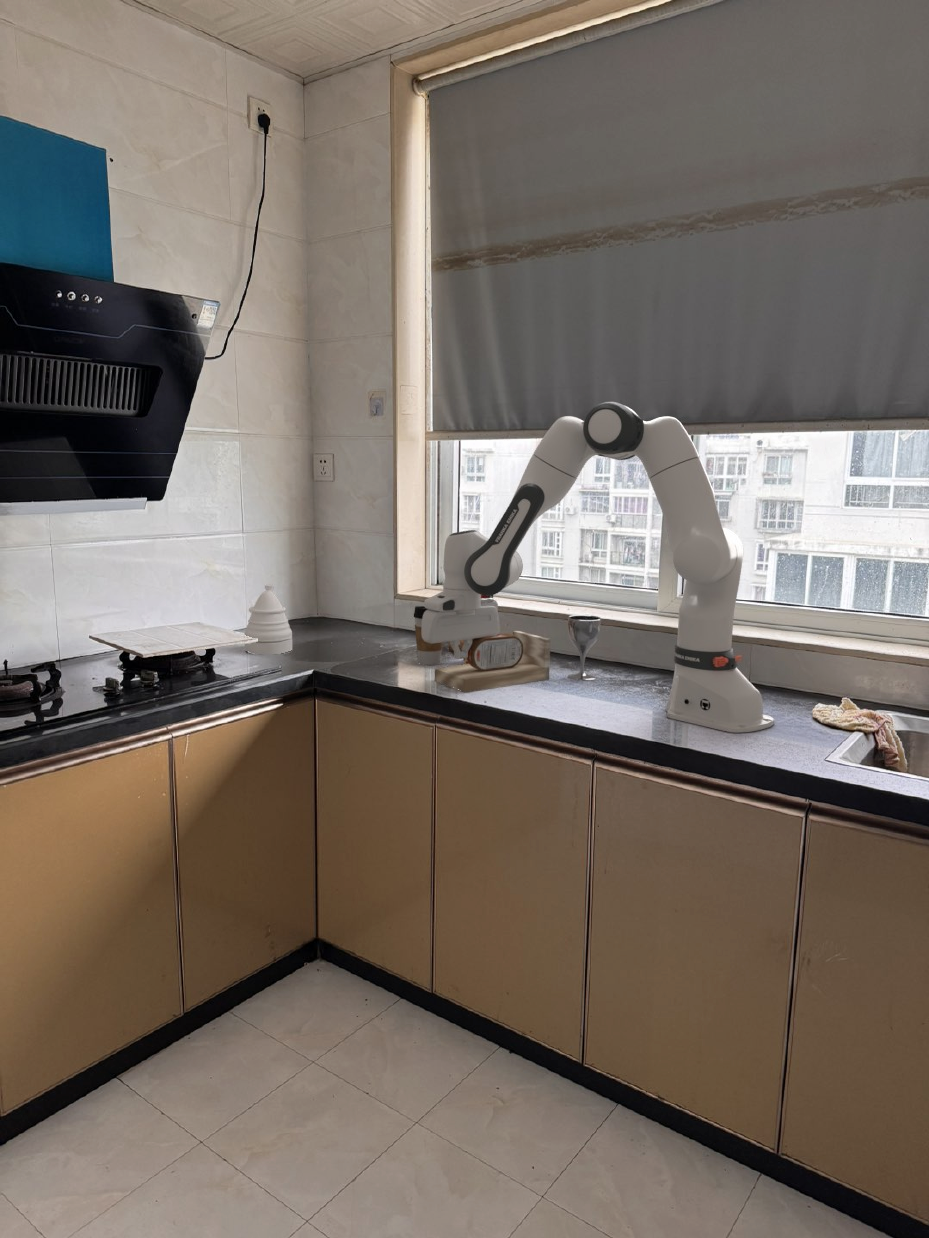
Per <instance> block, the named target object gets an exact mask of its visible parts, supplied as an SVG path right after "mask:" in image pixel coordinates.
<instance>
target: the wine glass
mask: <svg viewBox="0 0 929 1238" xmlns="http://www.w3.org/2000/svg"><path fill="white" fill-rule="evenodd" d="M601 619H602V618H601V616H597V615H590V614H573V615H568V617H567V630H568V631H567V632H568V637H569V640H570V642H571V643H572V644H573V645H574V647H575V648H576V649H577V651H578V653H579V658H580V671H579V672H578V673H571V674H568V675H567V678H568V679H570V680H574V681H585V682H586V681H594V680H596V679H597V676H595V675H593V674H589V673H586V672H585V660H586V655H587V653H588V651H589V650H590V649H591V648H592V647H593V646H594V645H595V643H596V642H597V641H598V638H599V634H600V630H601V621H602V620H601Z"/></svg>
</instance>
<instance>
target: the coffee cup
mask: <svg viewBox="0 0 929 1238" xmlns="http://www.w3.org/2000/svg"><path fill="white" fill-rule="evenodd" d="M426 610H428V609H427V608H425V607H424V605H419V606H418V605H417V606H414V611H413V618H414V620H415V621H414V622H415V624H414V630H415V631H414V632H415V642H416V650H417V652H416V654H417V662H418V664H419V663H420V664H419V665H422V664H425V665H424V666H434V665H435V664H437V665H440V664H441V659H442V649H443V642H441V643H433V644H431V643H427V642H425V641H424V640H423V639H422V636H421V629H422V618H423V614H424V612H425V611H426ZM439 663H440V664H439ZM435 666H436V665H435Z"/></svg>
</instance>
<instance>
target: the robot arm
mask: <svg viewBox="0 0 929 1238" xmlns="http://www.w3.org/2000/svg"><path fill="white" fill-rule="evenodd" d="M699 454H700V453H698V450H697V448H696V446H695V444H694V442H693V440H692V438H691V436H690V435H689V433H688V431H687V430H686V429H685V427H684V425H683V424H682V422H681V421H680V420H678V419H677V418H676V417H673V416H660V417H656V418H654V419H652V420H648V421H645V420H644V419H643V418H642V417H640V415H639V414H637V413H636V412H635V411H634V410H633V409H632V408H630V407H629V406H626V405H624V404H621V403H619V402H615V401H605V402H602V403H599V404H597V405H595V406H593V408H591V409H590V411H589V412H588V413H587V414H586V416H585V419H584V420H582V419H581V418H579V417H576V416H571V415H567V416H566V415H565V416H562V417H559V418H557V419H556V420H555V421H554V422H553V424H552V425H551V426H550V427H549V429H548V430H547V432H546V433H545V434H544V436H543V437H542V439H541V440H540V442H539V443H538V445H537V447H536V448H535V450H534V452H533V453H532V456H531V458H530V459H529V461H528V463H527V465H526V467H525V470H524V472H523V474H522V476H521V479H520V480H519V484H518V486H517V488H516V490H515V492H514V495H513V496H512V499H511V501H510V502H509V505H508V506H507V508H506V509H505V512H503V515H502V517H501V518H500V519H499V522H498V523H497V525H496V527H495V528H494V530H493V532H492V533H491V535H490V536H489V538H487V537H486V536H484V535H483V534H482V533H481V531H478V530H476V529H470V530H463V531H458V532H453V533H451V534H449V535H448V536H447V537H446V540H445V544H444V549H443V567H442V568H443V571H444V582H443V586H442V591H440V592H439V593H437V594H434V595H433V596H429V598H428V597H427V598H426V599H425V600H424V601H423V606H424V607H425V608H427V609H428V610H426V611H425V612H424V614H423V618H422V629H421V636H422V639H423V640H424V641H425V642H427V643H431V644H433V643H441V642H442V643H447V642H448V643H449V642H450V645H451V647H452V648H453V650H454V652H453V657H454V659H456V660H460V659H463V658H468V651H469V649H470V647H471V645H472V639H475V638H483V637H491V636H497V634H500V618H499V612H498V611H499V604H498V602H497V600H496V599H495V598H494V597H493V598H481V595H485V596H491V595H493V596H494V595H496V594H499V593H500V592H501V591H502V590H504V589H506V588H508V587H509V586H511V585H513V584H514V583H515V582H517V581H518V580H519V578H520V577H521V575H522V572H523V569H524V568H523V559H522V557H521V556H520V554H519V553H518V551H517V550H518V549H519V548H518V547H519V546H520V544H521V543H522V542H523V539H524V538H525V537H526V535H527V533H528V531H530V528H531V527H532V525H533V524H534V523H535V522H536V520H537V519H539V517H541V516H542V515H543V514H544V513H546V512H547V511H549V510H551V509H552V508H553V507H555V506H557V505H559V503H560V502H561V501H562V500H563V499H564V498H565V497H566V495H567V494H568V493H569V492H570V490H571V488H572V487H573V486H574V484H575V483H576V482H577V479H578V477H579V475H580V474H581V471H582V470H583V469H584V467H585V465H586V463H588V461H589V460H590V459H591V458H593V457H595V456H598V457H604V458H607V459H612V460H618V461H619V460H620V461H623V460H629V459H632V458H634V457H637V458H638V459H639V460H640V462H641V463H642V465H643V467H644V470H645V472H646V475H647V477H648V480H649V482H650V484H651V487H652V490H653V492H654V494H655V497H656V500H657V502H658V505H659V507H660V509H661V512H662V515H663V518H664V519H663V520H664V522H665V523H664V524H665V526H666V527H665V528H666V531H667V535H668V539H669V540H668V541H669V543H670V548H671V551H672V561H673V566H674V569H675V571H676V572H677V574H678V575H679V576H680V577H682V579H684V580H686V581H685V586H684V590H683V595H682V599H681V602H680V606H679V609H678V622H677V625H678V626H677V638H676V639H677V640H676V641H677V642H676V644H675V645H674V651H673V662H674V673H673V677H672V678H673V679H672V684H671V689H670V694H669V695H668V700H667V702H666V705H665V711H666V712H667V714H666V717H667V718H669V719H671V720H672V719H673V720H676V721H682V722H685V723H690V724H694V725H698V726H702V727H706V728H709V729H711V728H712V729H713V730H720V731H723V732H728V733H748V732H749V733H750V732H757V731H761V730H764V729H768V728H770V727H772V726H773V725H774V724H775V718H774V717H772V716H770V715H767V714H764V705H763V696H762V694H761V692H760V690H759V689H757V688H756V687H755V686H754V685H753V684H752V682H750V680H749V679H748V678H747V677H746V676H745V674H743V673H742V672H741V670H739V669H738V662H741V661H742V660H743V659H741V658H742V657H743V655H742V654H739V655H738V654H737V655H735V652H734V649H733V648H732V645H733V644H732V642H733V631H734V629H733V628H734V617H735V616H734V615H735V607H736V602H737V597H738V591H739V586H740V581H741V574H742V568H743V567H742V566H743V560H744V559H743V558H744V546H743V541H741V539H740V538H739V536H738V535H737V534H736V533H735V532H733V531H732V530H730V529H728V528H725V527H723V524H722V521H721V519H720V514H719V511H718V506H717V501H716V494H715V490H714V488H713V487H712V484H711V482H710V479H709V476H708V474H707V471H706V469H705V467H704V466H705V465H704V464H703V462H702V459H701V458H700V455H699ZM493 601H494V602H493ZM485 602H486V603H485ZM460 640H463V642H464V645H463V647H462V650H460V649H459V647H458V645H460Z"/></svg>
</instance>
